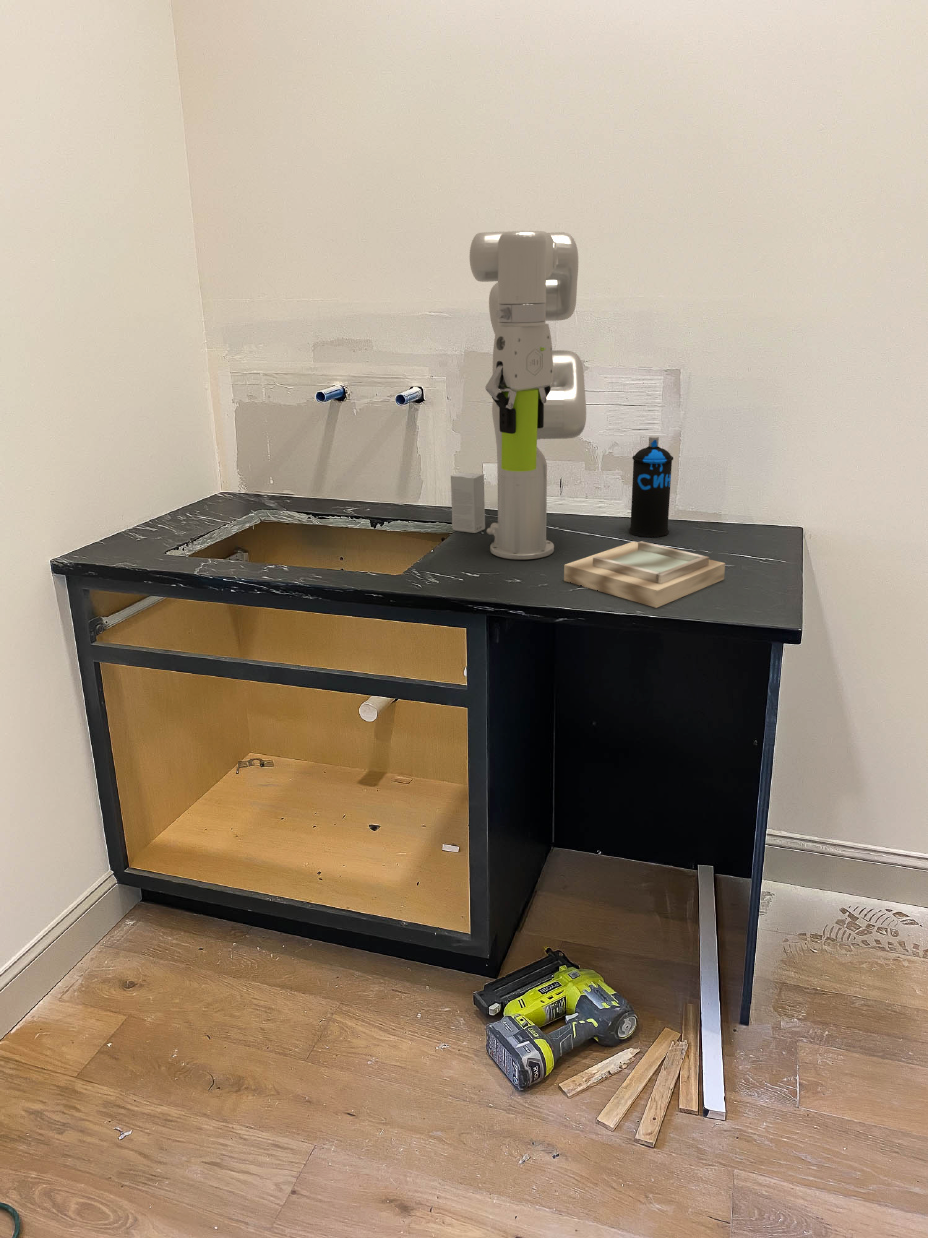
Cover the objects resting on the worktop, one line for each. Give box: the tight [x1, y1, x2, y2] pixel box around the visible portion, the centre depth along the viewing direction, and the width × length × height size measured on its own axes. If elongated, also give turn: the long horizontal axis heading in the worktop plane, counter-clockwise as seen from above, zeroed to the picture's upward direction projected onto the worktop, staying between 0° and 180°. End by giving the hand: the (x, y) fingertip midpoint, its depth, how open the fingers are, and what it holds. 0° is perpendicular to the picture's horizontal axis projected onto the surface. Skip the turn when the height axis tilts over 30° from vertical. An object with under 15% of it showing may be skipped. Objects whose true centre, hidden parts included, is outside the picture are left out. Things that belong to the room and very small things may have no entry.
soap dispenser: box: [501, 347, 546, 472], centre depth 148 cm, size 6×7×20 cm
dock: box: [563, 540, 726, 609], centre depth 159 cm, size 20×20×4 cm
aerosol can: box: [628, 435, 674, 538], centre depth 185 cm, size 8×8×20 cm
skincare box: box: [450, 471, 486, 534], centre depth 192 cm, size 6×4×12 cm
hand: (521, 428), depth 149 cm, fingers closed on soap dispenser, 5 cm apart
